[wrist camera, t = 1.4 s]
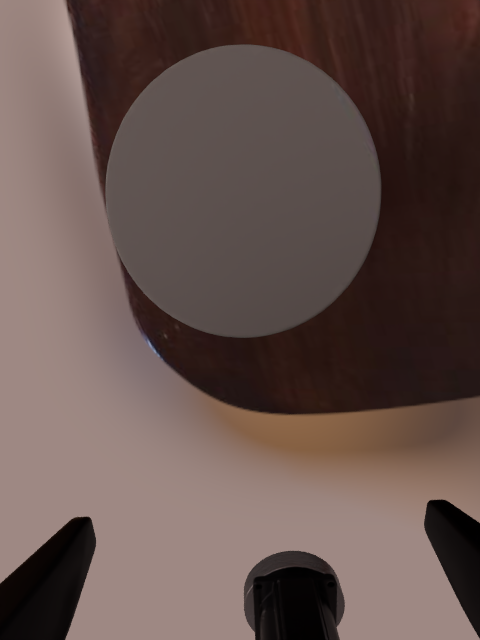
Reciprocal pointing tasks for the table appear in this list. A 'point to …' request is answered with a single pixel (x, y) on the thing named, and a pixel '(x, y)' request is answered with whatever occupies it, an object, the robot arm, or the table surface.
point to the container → (243, 191)
